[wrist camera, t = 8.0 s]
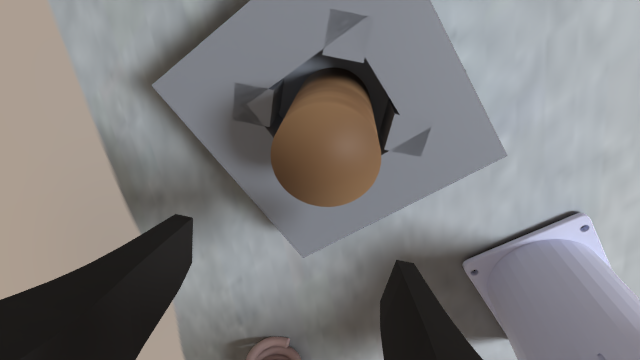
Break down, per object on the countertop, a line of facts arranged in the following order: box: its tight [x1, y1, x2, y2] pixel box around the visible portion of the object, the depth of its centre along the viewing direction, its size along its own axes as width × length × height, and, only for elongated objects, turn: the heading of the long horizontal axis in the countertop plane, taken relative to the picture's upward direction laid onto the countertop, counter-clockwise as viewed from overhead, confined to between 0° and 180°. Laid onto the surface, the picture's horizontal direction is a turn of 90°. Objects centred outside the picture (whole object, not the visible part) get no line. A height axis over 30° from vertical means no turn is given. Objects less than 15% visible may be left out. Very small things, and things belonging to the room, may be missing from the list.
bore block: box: [151, 0, 507, 258], centre depth 18 cm, size 12×12×4 cm
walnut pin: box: [271, 68, 381, 207], centre depth 16 cm, size 4×4×7 cm
